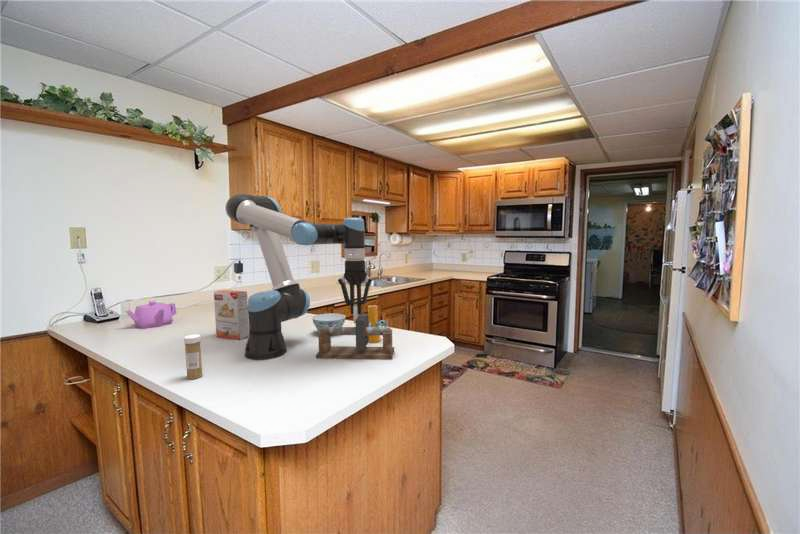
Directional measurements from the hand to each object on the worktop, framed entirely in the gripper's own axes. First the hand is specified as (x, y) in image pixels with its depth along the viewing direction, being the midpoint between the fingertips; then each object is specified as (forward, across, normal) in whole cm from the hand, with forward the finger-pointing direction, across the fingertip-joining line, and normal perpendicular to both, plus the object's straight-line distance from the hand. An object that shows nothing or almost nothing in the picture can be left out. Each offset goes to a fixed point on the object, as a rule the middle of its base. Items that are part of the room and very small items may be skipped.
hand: (356, 322), depth 135 cm
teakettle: (+12, -113, +41) cm, 121 cm away
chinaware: (+12, -18, +29) cm, 37 cm away
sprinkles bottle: (+12, -48, -24) cm, 55 cm away
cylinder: (+13, +4, +18) cm, 22 cm away
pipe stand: (+12, 0, 0) cm, 12 cm away
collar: (+9, +2, 0) cm, 9 cm away
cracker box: (+12, -60, +21) cm, 65 cm away
